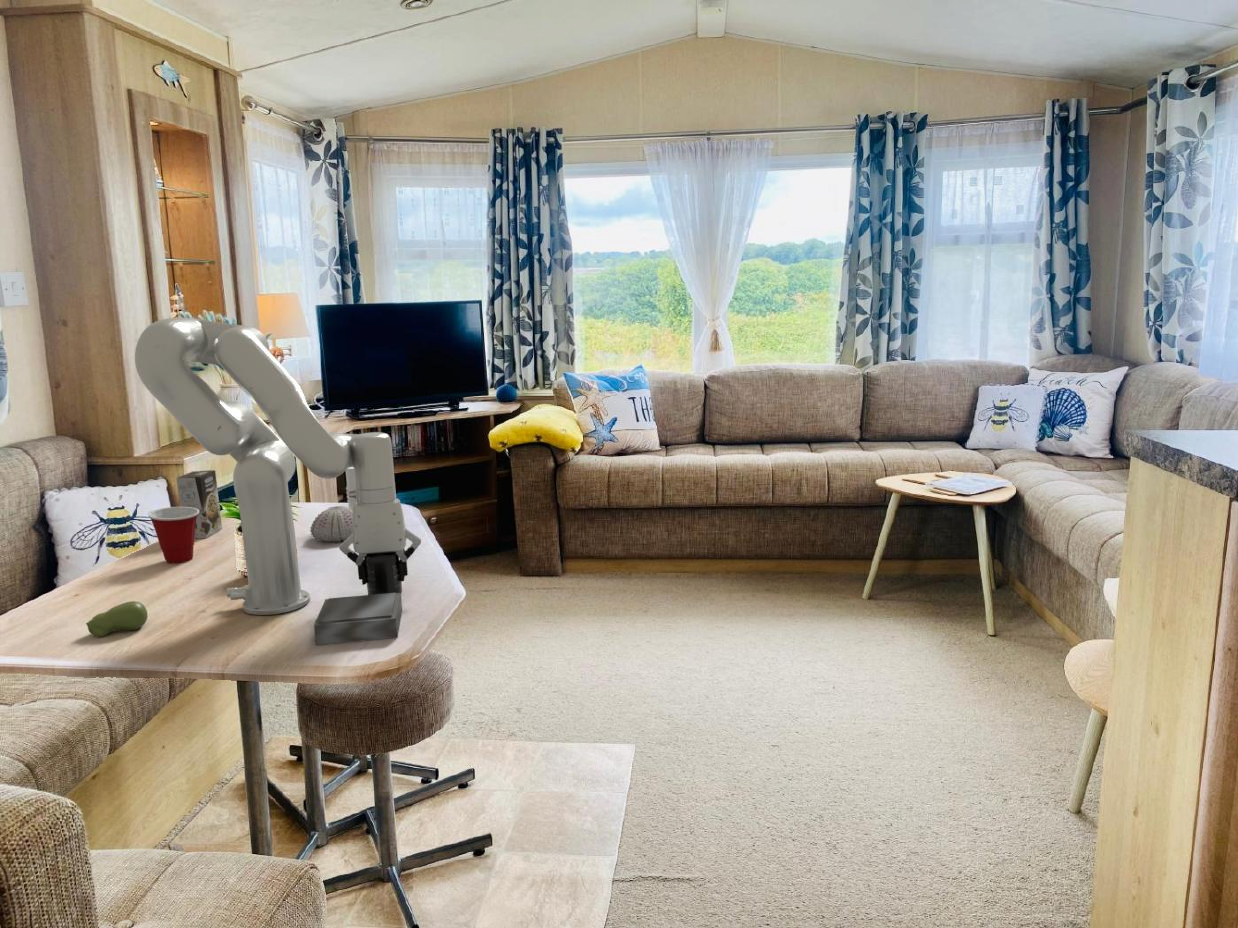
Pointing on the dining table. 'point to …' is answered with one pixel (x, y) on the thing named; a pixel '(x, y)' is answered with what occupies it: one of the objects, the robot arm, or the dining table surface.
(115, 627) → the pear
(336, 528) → the sea urchin shell
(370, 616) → the grey square block
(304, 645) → the dining table surface
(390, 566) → the supplement bottle
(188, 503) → the coffee box
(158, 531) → the plastic cup
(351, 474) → the candle
